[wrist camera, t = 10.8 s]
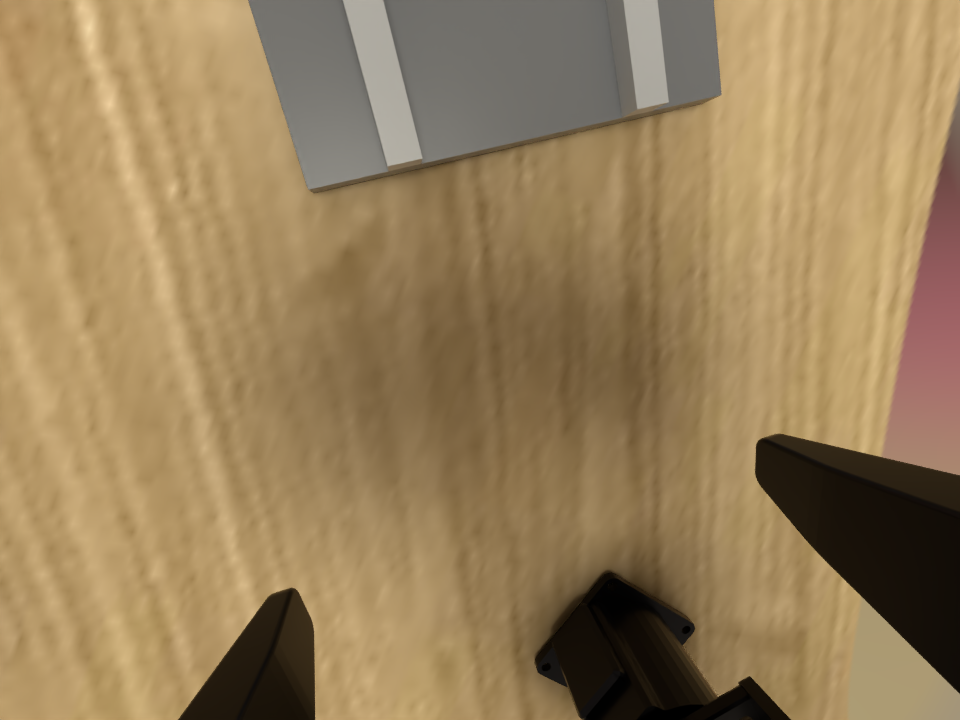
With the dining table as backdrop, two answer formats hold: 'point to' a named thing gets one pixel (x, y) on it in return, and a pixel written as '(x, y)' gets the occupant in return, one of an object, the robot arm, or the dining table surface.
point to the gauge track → (473, 75)
